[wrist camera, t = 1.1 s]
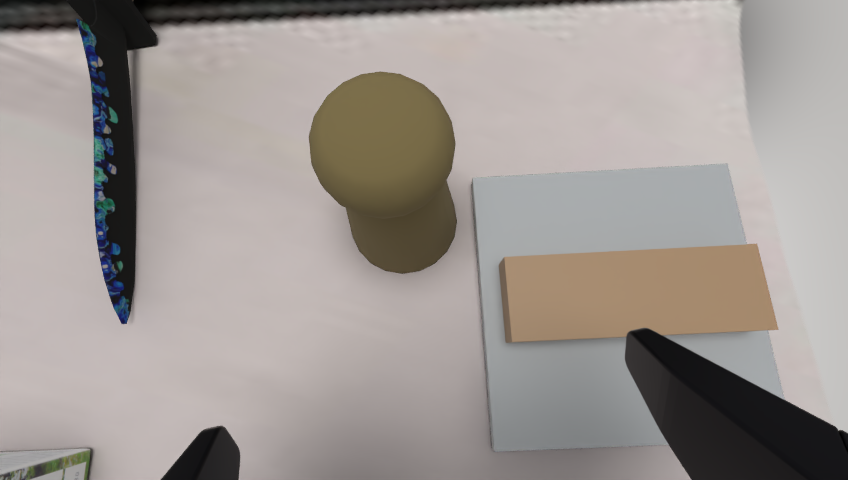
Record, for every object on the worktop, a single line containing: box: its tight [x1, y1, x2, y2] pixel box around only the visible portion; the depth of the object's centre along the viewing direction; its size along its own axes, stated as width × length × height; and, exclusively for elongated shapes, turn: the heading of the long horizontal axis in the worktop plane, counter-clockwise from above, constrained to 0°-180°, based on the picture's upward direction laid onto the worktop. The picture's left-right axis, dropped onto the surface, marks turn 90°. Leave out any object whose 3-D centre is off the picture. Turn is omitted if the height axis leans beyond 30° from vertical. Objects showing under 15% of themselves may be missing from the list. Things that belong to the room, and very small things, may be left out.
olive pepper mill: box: [309, 72, 457, 274], centre depth 19 cm, size 6×6×11 cm
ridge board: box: [471, 164, 785, 452], centre depth 21 cm, size 14×14×3 cm
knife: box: [66, 0, 157, 324], centre depth 26 cm, size 31×3×4 cm, turn 6°
